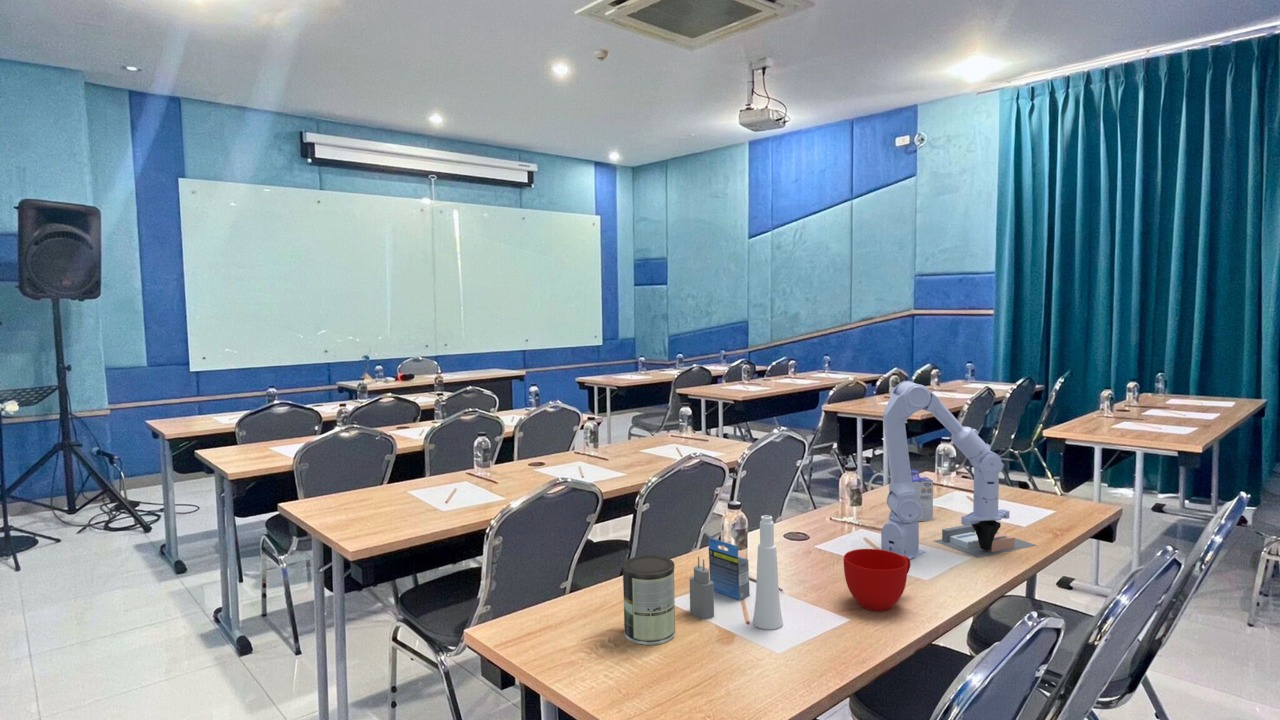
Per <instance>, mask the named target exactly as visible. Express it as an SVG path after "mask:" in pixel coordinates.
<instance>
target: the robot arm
mask: <svg viewBox="0 0 1280 720" xmlns="http://www.w3.org/2000/svg"><path fill="white" fill-rule="evenodd" d="M921 410H922V411H926V412H929V413H931V414H932V416H934V418H935V419H936V420H937V421H939V423H940V424H942V425H943V427H944V428H945V429H947V431H948V432H949V433H951V442H952V443H953V445H955V446H956V448H958V450H959V451H960V452H961V453H962V454H963V455H964V456H965V458H966V459H968V460H969V464H970V466H972V467H974V468H973V499H972V500H973V509H972V512H970V513H968V514H965V515H963V516H961V517H960V518H961V521H960V524H961V525H962V526H963V525H966V526H970V524H971V525H972V526H973V528H974V530H975V533H976V534H977V537H978V541H979V544H980V548H981V549H983V550H986V551H988V550H990V549H991V546H992V542H993V539H994V537H995V534H996V533H997V532H998V531H999V529H1000V528H1001V522H999V521H1002V520H1003V519H1004V520H1005V519H1006V520H1007V519H1010V510H1007V509H1004V508H1003V509H1002V508H1001V509H999V495H1000V494H999V493H1000V492H999V490H1000V489H999V487H1000V485H999V484H1000V483H999V481H1000V480H999V479H1000V478H999V476H1000V473H1001V472H1002V470H1003V469H1004V466H1005V465H1004V463H1003V461H1002V458H1001V457H1000V455H999V454H997V453H996V452H994V451H991V448H992V446H991V444H988V443H985V441H984V440H983V439H982V438H981V437H980V436H979V434H980V432H979V431H978V430H977V429H975V428H972V427H970V426H964V425H962V424H961V423H960V421H959V420H958V419H957V418H956V417H955V416H954V414H953V413H952V412H951V411H950V410H949V409H948V407H947V406H946V405H945V404H944V403H943V402H942V400H940V398H939V396H937V395H936V394H935V393H933V392H932V391H930V390H929V388H928V387H927V386H926V385H923V384H919V383H915V382H914V381H911V380H903V381H901V382H900V383H898V384H897V385H896V386H894V388H893V389H892V390H891V392H890V397H889V400H888V401H887V404H886V406H885V408H884V410H883V413H882V418H883V419H882V420H883V426H884V435H885V446H886V454H887V459H888V469H889V476H890V478H889V479H890V483H889V485H888V491H889V492H888V495H887V497H886V505H887V507H888V508H889V509H890V512H889V514H888V520H887V523H885V524H884V525H883V527H882V528H881V535H880V536H881V537H880V538H881V542H880V543H881V547H880V550H885V551H890V552H893V553H897V554H899V555H901V556H906V557H908V558H909V560H910V561H911V559H914V558H916V557H918V556H920V555H922V554H925V553H926V550H925V549H924V550H923V549H921V548H920V547H919V545H920V544H919V543H920V541H919V538H920V537H919V536H920V523H919V522H920V521H919V517H920V516H921V513H922V507H921V504H920V503H919V501H918V500H917V497H916V491H915V489H914V486H913V484H912V478H911V475H912V473H911V470H912V469H911V463H910V454H909V447H908V437H907V430H906V421H908V419H909V418H911V416H912V415H913V414H916V413H917V412H919V411H921Z"/></svg>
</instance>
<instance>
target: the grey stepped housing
mask: <svg viewBox="0 0 1280 720" xmlns="http://www.w3.org/2000/svg"><path fill="white" fill-rule="evenodd" d="M941 539H942V541H943V542H946V543H948V542H950V543H953V544H956V545H958V546H961V547H964V548H966V549H970V548H975V547H979V541H978V537H977V534H976V532H975V530H974V528H973V526H972V525H971V524H970V526H966V525H963V524H962V525H959V526H954V527H948V528H943V529H942V530H941Z"/></svg>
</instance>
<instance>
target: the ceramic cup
mask: <svg viewBox="0 0 1280 720" xmlns="http://www.w3.org/2000/svg"><path fill="white" fill-rule="evenodd" d="M910 568H911V559H910V560H909V558H908V557H906V556H901V555H899V554H897V553H893V552H890V551H885V550H881V549H879V548H878V549H877V548H859V549H853V550H849V551H848V552H846V553H845V554H844V555H843V571H844V578H845V582H846V585H847V588H848V590H849V592H850V594H851V596H852V597H853V599H854V600H855V601H856V602H857V603H858V605H860V607H862V608H863V609H866V610H868V611H874V612H884V611H888V610H890V609H892V607H893V606H894V605H895V604H896V603H897V602H898V601H900V599H901V597H902V595H903V594H904V591H905V588H906V585H907V579H908V578H907V577H908V574H909V572H910Z"/></svg>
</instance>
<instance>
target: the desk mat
mask: <svg viewBox="0 0 1280 720" xmlns="http://www.w3.org/2000/svg"><path fill="white" fill-rule="evenodd" d="M999 533H1000V532H998V531H997V533H996V534H999ZM933 543H937V544H939V545H942V546H945V547H948V548H950V549H952V550H955V551H958V552H960V553H963V554H966V555H969V556H970V557H971V556H972V557H974V558H977V559H979V558H985V557H989V556H994V555H999V554H1004V553H1008V552H1012V551H1018V550H1022V549H1027V548H1032V547H1036V546H1038V545H1037V544H1035V543H1032V542H1028V541H1025V540H1023V539H1020V538H1017V537H1015V543H1014V547H1013V548H1009V549H1004V550H999V551H994V552H991V551H986V550H983V549H981V548H980V547H975V548H970V549H966V548H964V547H961V546H958V545H956V544H953V543H950V542H948V543H946V542H943V541H942V538H940V539H936V540H935V539H934V540H933Z"/></svg>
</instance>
